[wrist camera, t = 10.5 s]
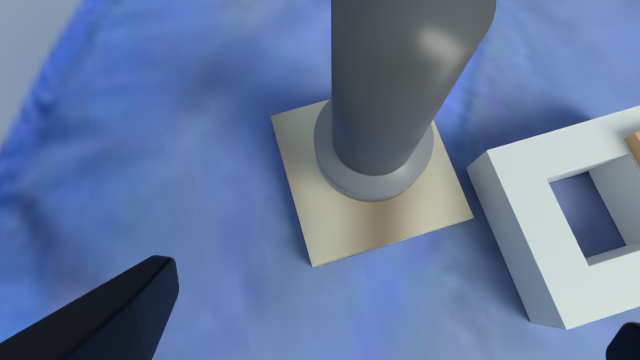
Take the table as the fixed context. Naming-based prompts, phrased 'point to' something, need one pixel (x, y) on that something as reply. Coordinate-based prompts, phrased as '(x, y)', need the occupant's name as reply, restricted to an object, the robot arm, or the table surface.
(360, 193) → the plug
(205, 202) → the table surface
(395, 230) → the birch board
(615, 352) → the robot arm
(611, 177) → the socket block
